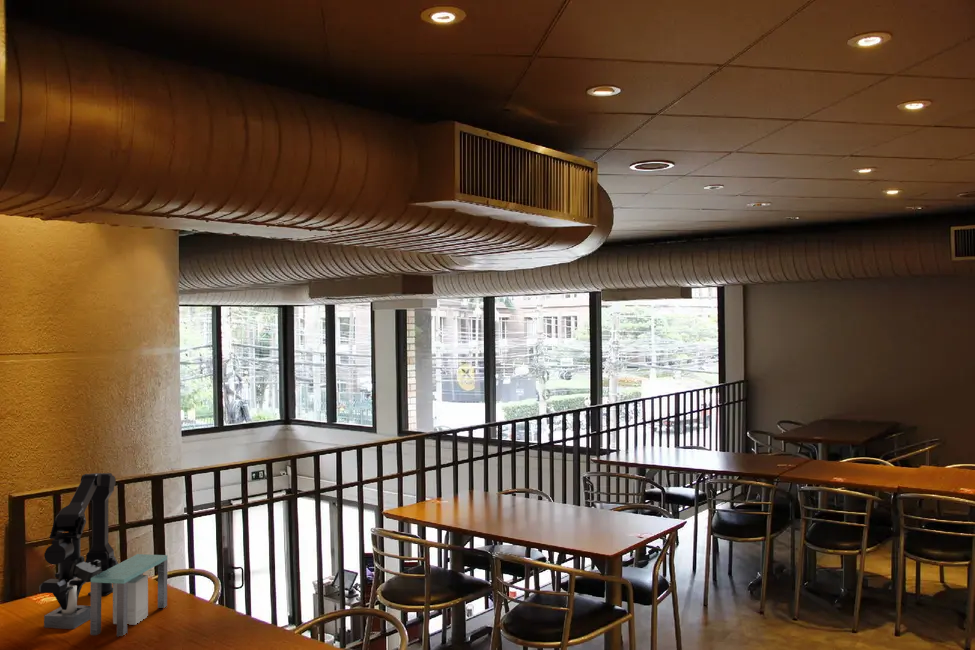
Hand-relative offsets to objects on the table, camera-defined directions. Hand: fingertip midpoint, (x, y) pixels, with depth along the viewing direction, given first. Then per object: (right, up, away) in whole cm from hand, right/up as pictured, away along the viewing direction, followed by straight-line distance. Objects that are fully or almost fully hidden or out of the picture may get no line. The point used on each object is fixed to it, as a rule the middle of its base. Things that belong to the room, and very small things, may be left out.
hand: (69, 607), depth 234 cm
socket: (0, -5, 0) cm, 5 cm away
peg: (0, -2, 0) cm, 2 cm away
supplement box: (+17, -5, +2) cm, 18 cm away
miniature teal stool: (+17, -5, +2) cm, 18 cm away
